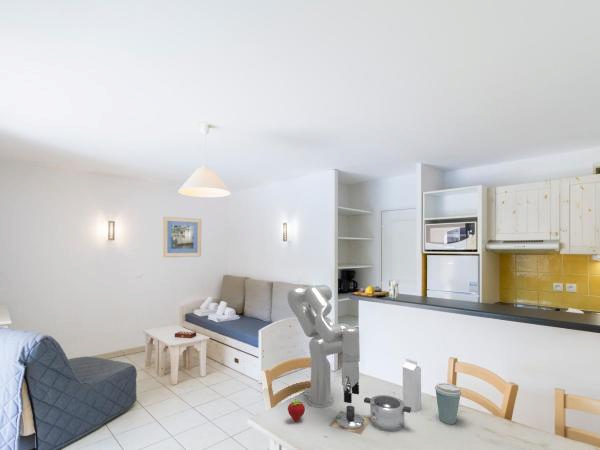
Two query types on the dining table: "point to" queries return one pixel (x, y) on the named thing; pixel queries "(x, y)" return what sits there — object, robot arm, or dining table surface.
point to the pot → (387, 412)
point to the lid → (350, 419)
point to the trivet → (350, 429)
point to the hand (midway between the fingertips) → (351, 398)
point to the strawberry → (296, 410)
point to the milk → (412, 385)
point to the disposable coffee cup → (447, 401)
